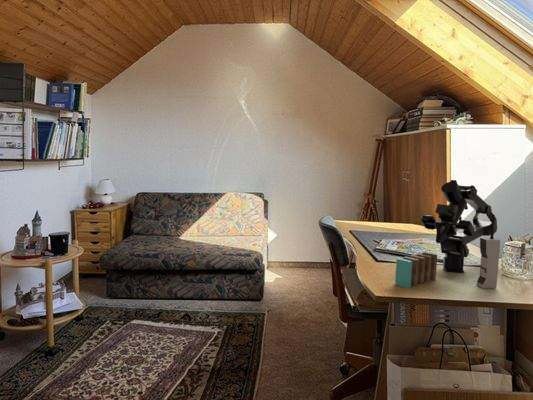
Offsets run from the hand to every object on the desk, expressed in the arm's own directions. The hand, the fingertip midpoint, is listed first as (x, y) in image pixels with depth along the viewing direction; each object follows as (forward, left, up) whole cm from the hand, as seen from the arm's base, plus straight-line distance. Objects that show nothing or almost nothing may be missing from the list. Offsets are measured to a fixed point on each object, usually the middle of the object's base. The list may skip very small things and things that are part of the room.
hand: (437, 242), depth 157 cm
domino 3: (+8, +10, -13) cm, 18 cm away
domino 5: (+3, +4, -13) cm, 14 cm away
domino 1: (+13, +16, -13) cm, 24 cm away
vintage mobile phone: (-15, +10, -13) cm, 22 cm away
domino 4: (+6, +7, -13) cm, 15 cm away
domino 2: (+11, +13, -13) cm, 21 cm away
